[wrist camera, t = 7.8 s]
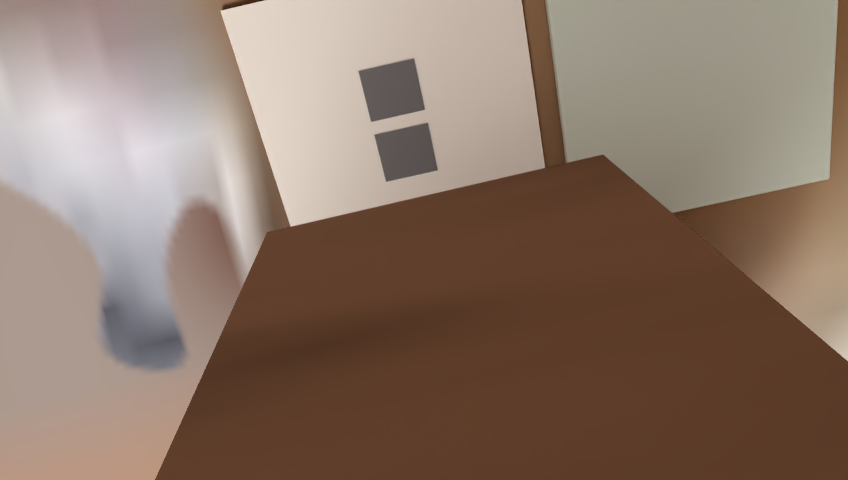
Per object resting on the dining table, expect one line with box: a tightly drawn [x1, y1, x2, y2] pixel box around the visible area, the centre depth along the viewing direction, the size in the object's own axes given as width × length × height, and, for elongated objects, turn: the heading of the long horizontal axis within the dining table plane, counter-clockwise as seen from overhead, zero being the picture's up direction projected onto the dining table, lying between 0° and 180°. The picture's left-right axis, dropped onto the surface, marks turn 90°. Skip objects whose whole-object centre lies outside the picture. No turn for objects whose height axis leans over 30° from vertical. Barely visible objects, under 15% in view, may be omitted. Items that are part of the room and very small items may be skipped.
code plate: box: [221, 0, 545, 227], centre depth 28 cm, size 12×12×1 cm
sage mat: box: [545, 0, 838, 213], centre depth 27 cm, size 14×12×1 cm
